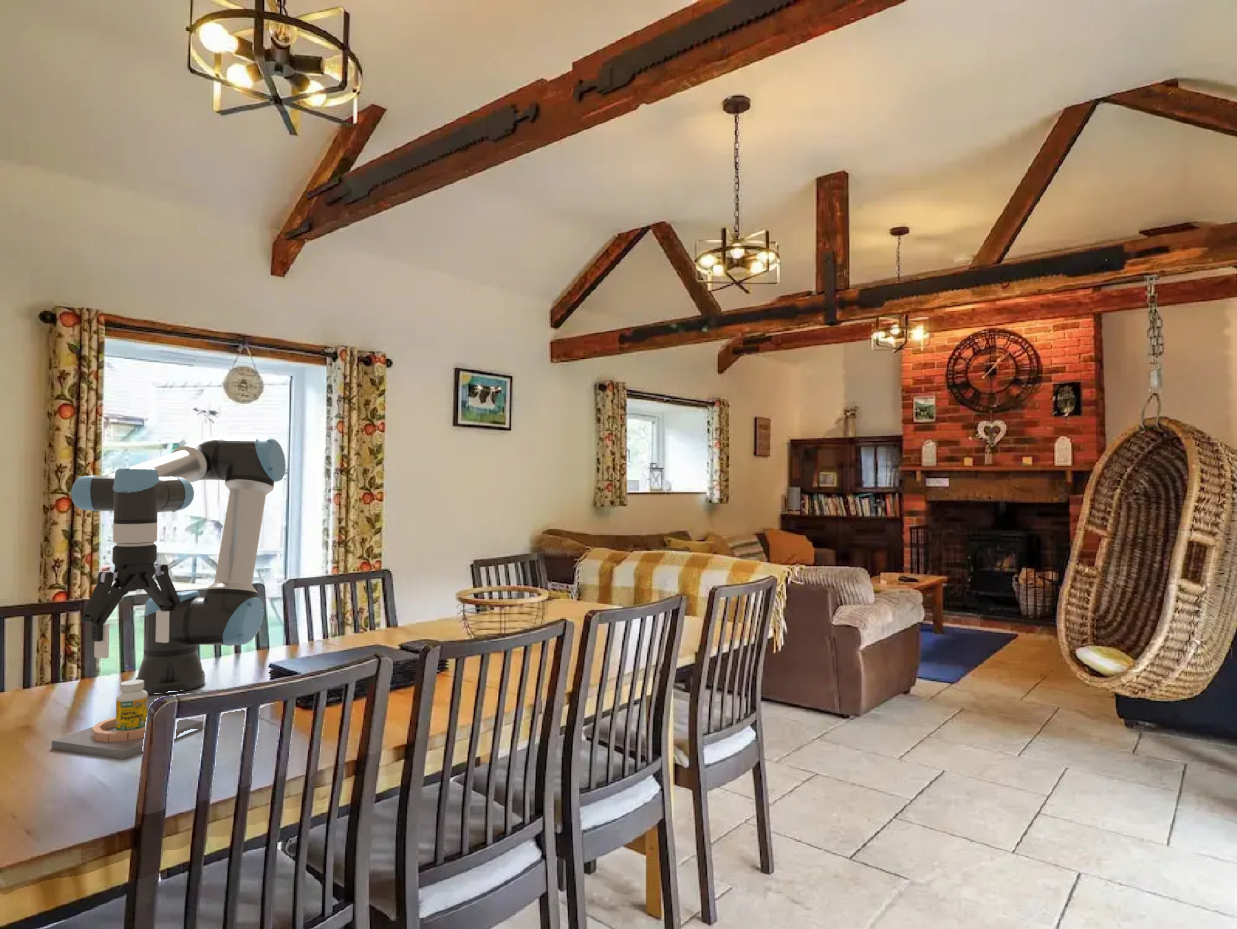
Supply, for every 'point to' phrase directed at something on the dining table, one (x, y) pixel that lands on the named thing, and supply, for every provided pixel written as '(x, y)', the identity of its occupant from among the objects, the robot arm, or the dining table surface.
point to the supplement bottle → (131, 706)
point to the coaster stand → (112, 739)
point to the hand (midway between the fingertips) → (133, 649)
